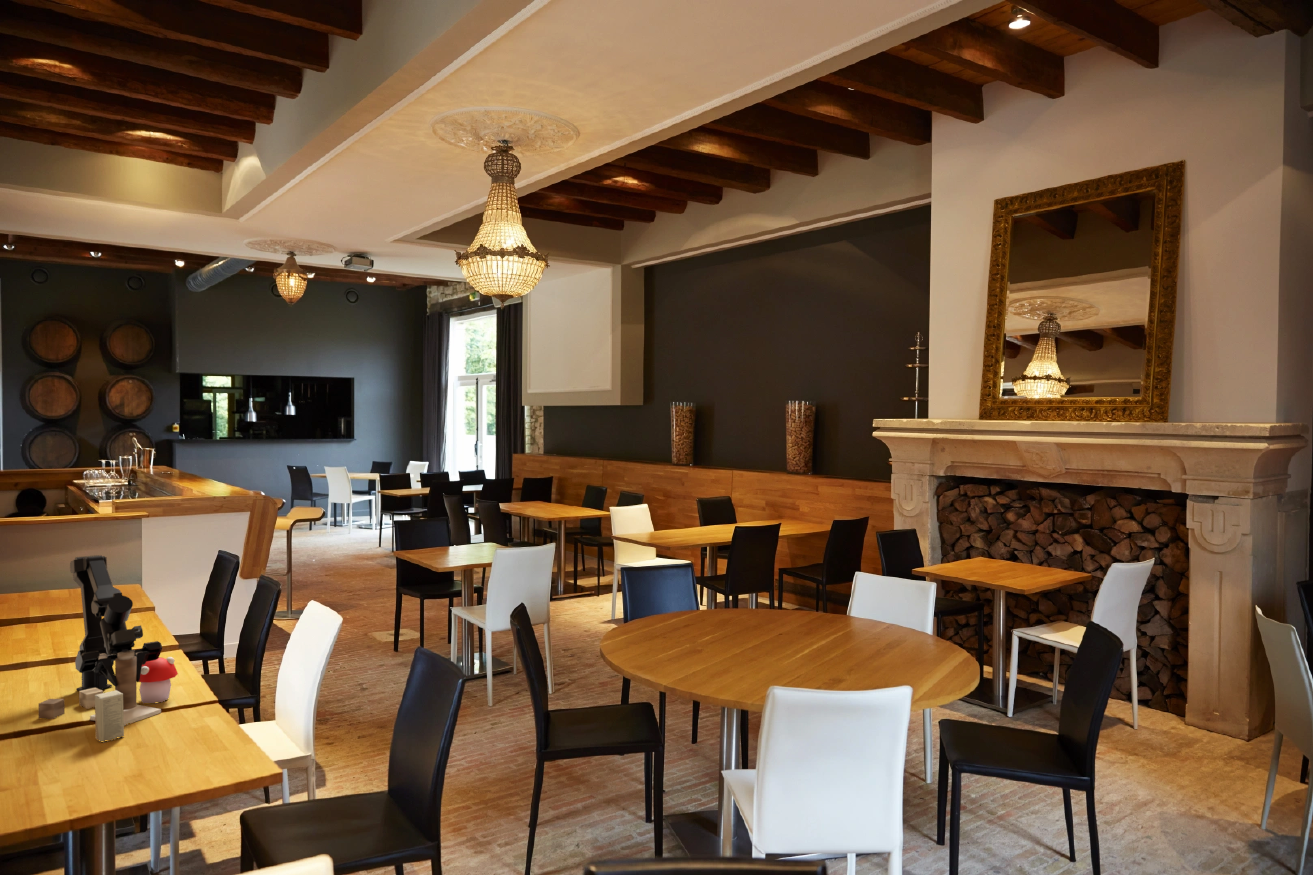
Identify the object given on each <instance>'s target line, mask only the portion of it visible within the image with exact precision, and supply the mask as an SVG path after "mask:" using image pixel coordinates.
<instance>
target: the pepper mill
mask: <svg viewBox="0 0 1313 875" xmlns="http://www.w3.org/2000/svg"><path fill="white" fill-rule="evenodd" d="M114 665H115V666H114V673H115V676H116V679H117V686H116V687H115V686H114V689H115V690H117V691H119V692H121V693H123V710H127V709H132V708H134V707H136V705H137V683H138V682H137V657H136V656H134V651H123V652H119V653H118V658H116V659H115V661H114ZM115 690H114V691H115Z"/></svg>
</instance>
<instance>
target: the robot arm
mask: <svg viewBox="0 0 1313 875" xmlns="http://www.w3.org/2000/svg"><path fill="white" fill-rule="evenodd" d="M69 570H70V574H72V578H73V581H74V582H75V583H76V584H77V585H78V586H79V587H80V594H81V604H82V605H81V606H82V616H83V625H84V638H83V639H82V641H81V643H80V645H79V650H78V651H77V654H76V658H75V661H74V664H75V666H74V667H75V670H76V671H78V673H80V674H81V686H79V687H76V689H75V690H76V691H82V690H87V689H91V688H98V689H100V690H102V691H103V690H104V689H108V688H112V687H114V688H115V687H116V686H117V679H116V676H115V669H114V668H113V667H114V665H115V659H116V658H118V653H119V652H123V651H134V656H136V657H137V682H136V683H140V682H139V680H140V674H141V668H142V665H144V664H145V663H146V662H147V661H153V660H156V659H158V658H159V657H160V655H161V653H162V651H163V646H162V643H161V641H158V640H155V641H150V642H149V641H148V642H144V643H143V645H142V648H138V649H137V648H136V649H133V648H134V647H135V645H136V644H135V642H136V641H137V640H138V639H141V638H142V637H143V636H144V630H143V627H142V625H135V626H133V627H132V628H129V629H128V627H127V624H126V622H127V621H128V620H129V617H130V614H131V611H132V608H133V605H134V603H133V600H132V599H131V598H130V597H128V596H126V595H123V593H122V592H121V590H120V589H118V588H116V587H114V586H113V581H112V579H111V577H110V574H109V571H108V558H107V556H105V555H101V554H98V555H97V554H96V555H95V554H94V555H86V556H75V557H74V559H73V560H70V563H69ZM102 617H103V618H102ZM108 682H110V683H111V684H110V683H108Z"/></svg>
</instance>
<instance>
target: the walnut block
mask: <svg viewBox="0 0 1313 875" xmlns="http://www.w3.org/2000/svg"><path fill="white" fill-rule="evenodd" d="M64 714H65V698H47V699H46V700H43V701H41V702H39V703H38V719H40V718H47V719H48V720H49V719H51V720H54V719H56V718H58V717H60V716H63V715H64ZM57 716H58V717H57ZM47 719H46V720H47Z"/></svg>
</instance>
